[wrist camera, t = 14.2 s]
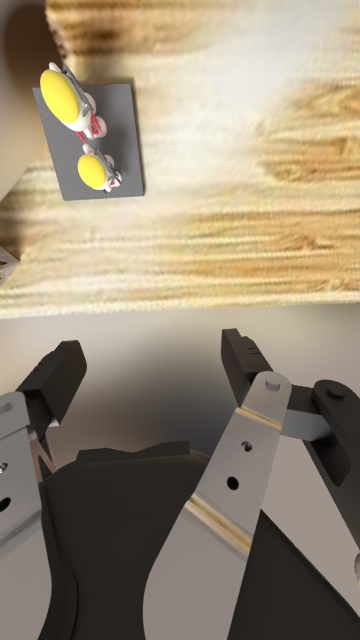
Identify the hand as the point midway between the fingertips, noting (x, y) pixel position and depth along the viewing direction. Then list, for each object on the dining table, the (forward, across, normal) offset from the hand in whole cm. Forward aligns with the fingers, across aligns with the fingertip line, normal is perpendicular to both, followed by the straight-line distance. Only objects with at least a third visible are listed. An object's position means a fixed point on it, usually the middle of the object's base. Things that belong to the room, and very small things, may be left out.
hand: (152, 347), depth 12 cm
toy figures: (+27, +8, -15) cm, 32 cm away
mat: (+28, +8, -15) cm, 33 cm away
